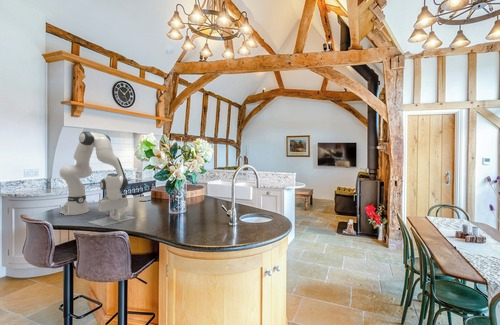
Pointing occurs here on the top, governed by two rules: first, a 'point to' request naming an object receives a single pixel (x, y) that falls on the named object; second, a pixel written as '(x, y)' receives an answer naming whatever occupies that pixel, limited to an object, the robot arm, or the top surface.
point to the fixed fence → (122, 212)
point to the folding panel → (116, 216)
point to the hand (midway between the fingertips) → (113, 215)
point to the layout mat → (110, 220)
